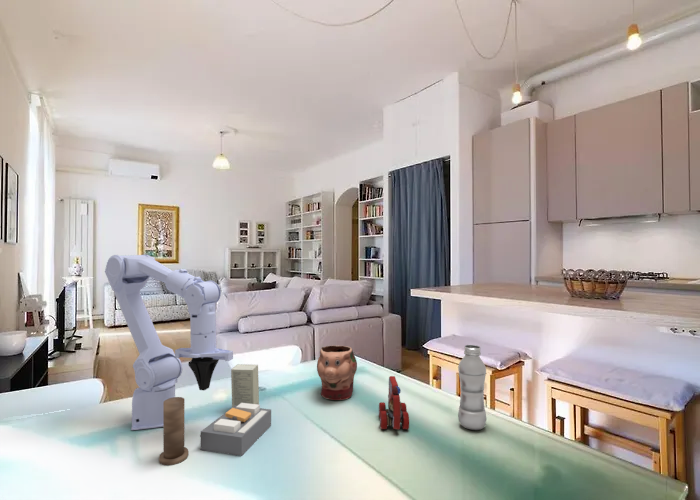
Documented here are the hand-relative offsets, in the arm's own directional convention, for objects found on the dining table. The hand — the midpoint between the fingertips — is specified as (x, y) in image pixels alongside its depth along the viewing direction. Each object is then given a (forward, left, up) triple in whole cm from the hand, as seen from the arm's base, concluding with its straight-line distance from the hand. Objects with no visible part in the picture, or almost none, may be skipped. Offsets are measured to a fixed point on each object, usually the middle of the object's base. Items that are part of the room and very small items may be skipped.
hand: (204, 388), depth 89 cm
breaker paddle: (+8, -4, -6) cm, 11 cm away
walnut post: (-5, -10, -10) cm, 15 cm away
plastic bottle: (+63, -15, -11) cm, 66 cm away
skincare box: (+9, +9, -11) cm, 17 cm away
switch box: (+8, -4, -10) cm, 14 cm away
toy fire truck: (+45, -8, -11) cm, 47 cm away
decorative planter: (+36, +15, -11) cm, 41 cm away
